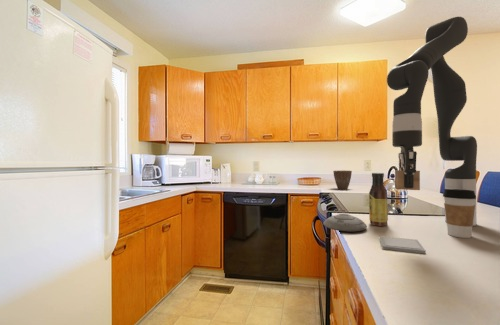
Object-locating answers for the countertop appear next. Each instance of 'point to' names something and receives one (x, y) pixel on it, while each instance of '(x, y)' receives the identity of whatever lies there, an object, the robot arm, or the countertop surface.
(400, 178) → the walnut cube
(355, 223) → the flying saucer
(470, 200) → the coffee cup
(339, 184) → the plant pot
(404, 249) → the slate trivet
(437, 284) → the countertop surface
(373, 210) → the sauce bottle
